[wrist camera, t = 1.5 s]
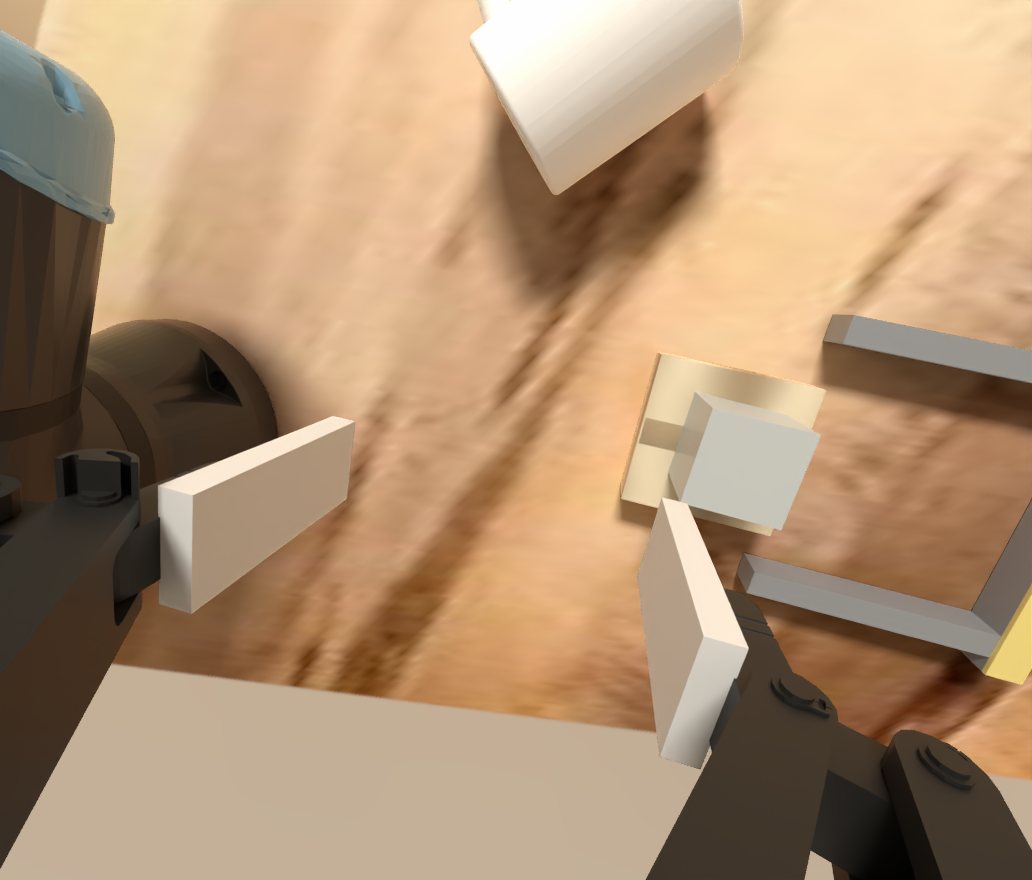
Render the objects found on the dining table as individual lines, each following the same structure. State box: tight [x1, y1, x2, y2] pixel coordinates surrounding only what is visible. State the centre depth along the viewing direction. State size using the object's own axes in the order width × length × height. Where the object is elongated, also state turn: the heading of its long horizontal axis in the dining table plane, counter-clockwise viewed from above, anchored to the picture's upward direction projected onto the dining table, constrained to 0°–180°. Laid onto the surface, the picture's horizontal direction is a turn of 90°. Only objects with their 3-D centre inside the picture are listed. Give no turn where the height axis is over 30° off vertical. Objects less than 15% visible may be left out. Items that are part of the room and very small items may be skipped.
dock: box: [737, 315, 1032, 685], centre depth 28 cm, size 16×19×3 cm
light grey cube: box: [668, 392, 821, 530], centre depth 26 cm, size 5×5×5 cm
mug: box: [470, 0, 743, 195], centre depth 24 cm, size 12×10×8 cm
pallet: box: [620, 351, 826, 536], centre depth 30 cm, size 9×9×3 cm
